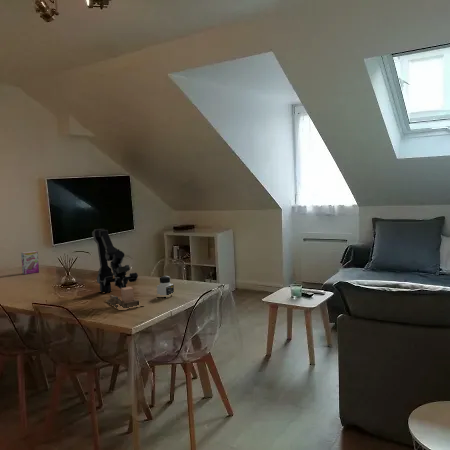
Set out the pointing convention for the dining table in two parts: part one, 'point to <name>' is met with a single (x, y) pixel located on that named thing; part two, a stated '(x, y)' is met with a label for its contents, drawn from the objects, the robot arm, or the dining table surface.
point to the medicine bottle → (165, 286)
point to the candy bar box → (30, 262)
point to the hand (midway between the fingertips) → (125, 291)
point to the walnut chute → (115, 300)
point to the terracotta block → (127, 294)
